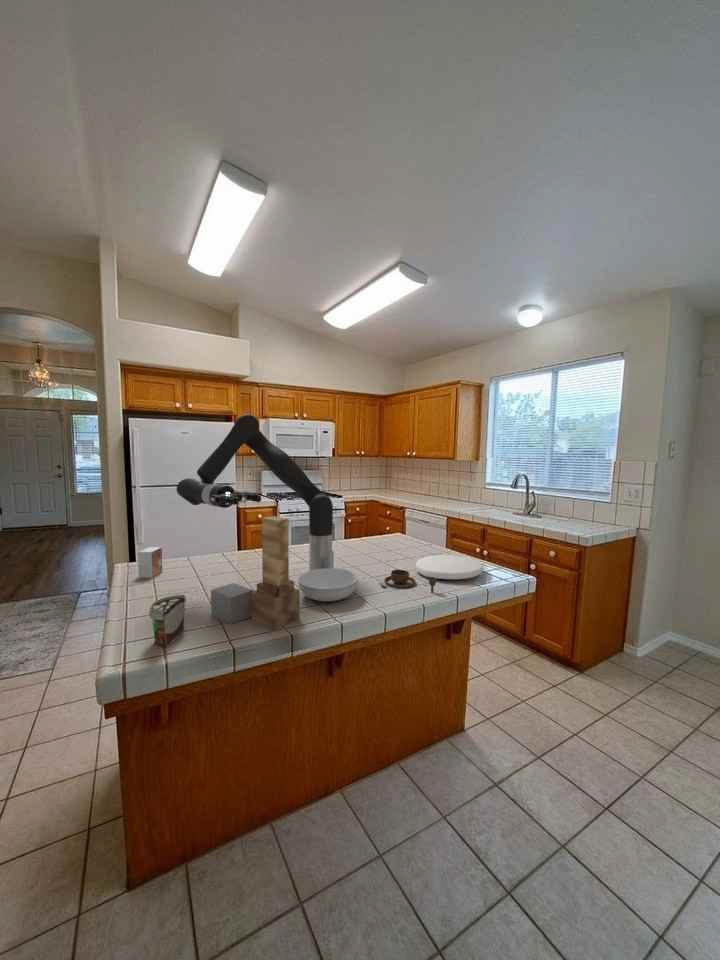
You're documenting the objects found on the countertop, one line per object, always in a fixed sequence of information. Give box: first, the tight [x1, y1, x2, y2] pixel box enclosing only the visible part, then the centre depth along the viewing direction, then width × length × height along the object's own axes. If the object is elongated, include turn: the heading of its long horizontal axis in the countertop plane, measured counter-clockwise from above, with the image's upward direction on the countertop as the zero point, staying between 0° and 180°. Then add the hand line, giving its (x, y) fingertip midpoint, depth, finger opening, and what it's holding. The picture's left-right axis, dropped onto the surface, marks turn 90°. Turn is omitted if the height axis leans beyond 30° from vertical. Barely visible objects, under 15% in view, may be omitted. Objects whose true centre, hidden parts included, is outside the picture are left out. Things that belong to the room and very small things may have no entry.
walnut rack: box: [251, 579, 300, 631], centre depth 116 cm, size 10×10×12 cm
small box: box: [137, 546, 163, 579], centre depth 156 cm, size 8×6×10 cm
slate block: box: [210, 582, 254, 625], centre depth 119 cm, size 8×10×8 cm
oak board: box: [261, 515, 290, 595], centre depth 115 cm, size 4×7×22 cm, turn 54°
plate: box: [415, 554, 484, 580], centre depth 163 cm, size 28×6×27 cm
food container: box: [148, 594, 187, 648], centre depth 104 cm, size 12×6×10 cm, turn 178°
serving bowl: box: [297, 568, 359, 602], centre depth 136 cm, size 21×21×7 cm
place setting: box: [378, 569, 437, 594], centre depth 146 cm, size 18×20×6 cm
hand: (249, 499), depth 121 cm, fingers open, 8 cm apart
